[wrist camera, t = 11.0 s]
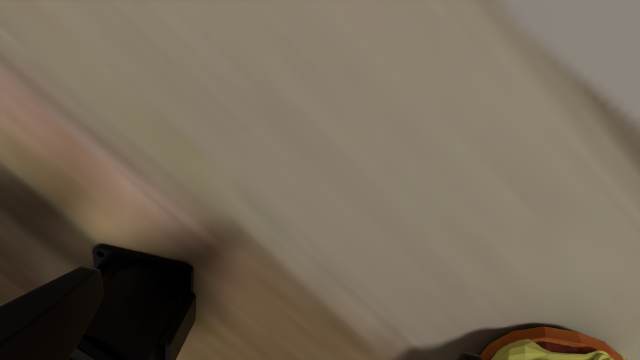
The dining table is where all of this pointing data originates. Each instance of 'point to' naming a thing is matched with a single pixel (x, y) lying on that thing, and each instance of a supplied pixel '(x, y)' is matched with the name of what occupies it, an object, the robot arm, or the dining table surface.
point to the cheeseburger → (548, 346)
